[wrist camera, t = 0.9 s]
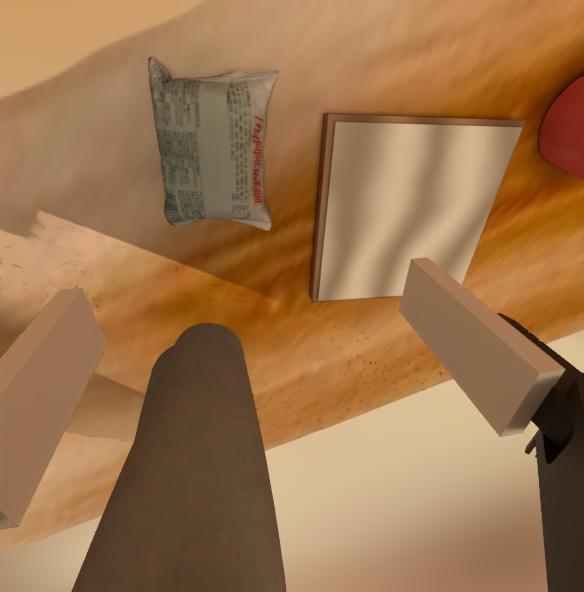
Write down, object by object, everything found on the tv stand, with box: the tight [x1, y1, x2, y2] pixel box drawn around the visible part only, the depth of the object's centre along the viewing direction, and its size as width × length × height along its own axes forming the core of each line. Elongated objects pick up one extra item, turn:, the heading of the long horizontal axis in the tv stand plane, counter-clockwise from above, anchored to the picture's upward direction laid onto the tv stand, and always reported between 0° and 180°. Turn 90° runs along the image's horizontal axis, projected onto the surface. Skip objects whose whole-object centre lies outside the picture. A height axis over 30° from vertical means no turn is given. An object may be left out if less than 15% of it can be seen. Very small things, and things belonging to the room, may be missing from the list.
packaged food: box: [149, 57, 279, 231], centre depth 24 cm, size 9×12×5 cm
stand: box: [310, 113, 525, 303], centre depth 31 cm, size 18×18×2 cm
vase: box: [72, 323, 286, 592], centre depth 25 cm, size 12×12×30 cm
